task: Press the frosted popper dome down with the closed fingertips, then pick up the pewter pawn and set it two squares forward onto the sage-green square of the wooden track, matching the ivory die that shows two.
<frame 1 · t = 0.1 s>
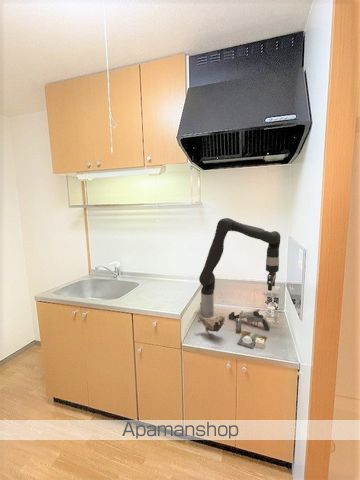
hand: (271, 288, 152), 29 cm above the worktop, fingers open, 8 cm apart
dome: (247, 340, 143), point 3 cm above the worktop, slide at 1.2 cm
popper base: (247, 344, 143), on the worktop
track: (249, 336, 151), on the worktop
die: (259, 347, 140), on the worktop
gun: (248, 325, 165), on the worktop
pawn: (238, 331, 155), point 1 cm above the worktop, touching track
stuffed bird: (211, 338, 150), on the worktop
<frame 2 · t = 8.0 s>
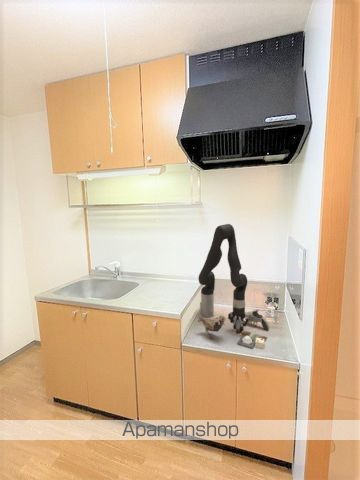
hand: (238, 330, 155), 2 cm above the worktop, fingers closed on pawn, 3 cm apart
pawn: (238, 331, 155), point 1 cm above the worktop, touching gripper, track
everything else where it was.
when the fingers open (4 cm above the worktop, at t = 12.6 s): pawn drops 1 cm, resting on track.
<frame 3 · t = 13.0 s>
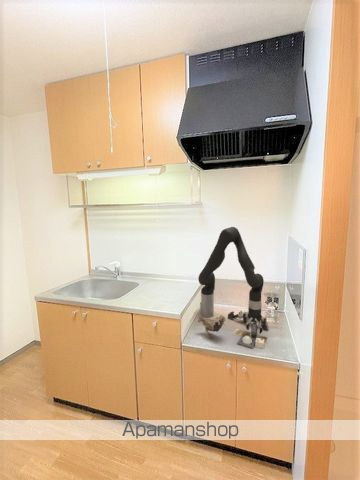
hand: (254, 331, 149), 4 cm above the worktop, fingers open, 7 cm apart
pawn: (254, 336, 150), point 1 cm above the worktop, touching track
everything else where it was.
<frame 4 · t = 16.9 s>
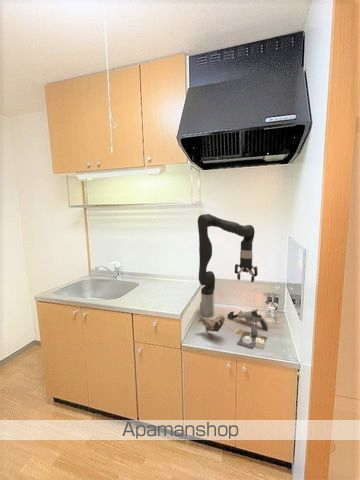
hand: (245, 280, 155), 33 cm above the worktop, fingers open, 8 cm apart
nothing on the worktop moved.
at the end: pawn 0.0 cm from the target spot, point 1.0 cm above the worktop; pawn tilted 1°; the gripper is holding nothing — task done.
